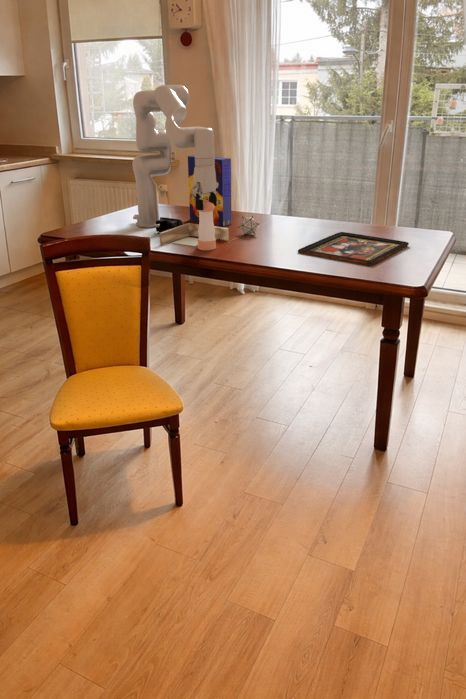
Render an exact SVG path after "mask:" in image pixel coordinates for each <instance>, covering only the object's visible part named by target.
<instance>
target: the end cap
mask: <svg viewBox="0 0 466 699" xmlns="http://www.w3.org/2000/svg"><path fill="white" fill-rule="evenodd" d="M157 224H160V226H159V227H155V231H156V234H157V235H159V236H160V233H161V232H164V231H166V230H169V229H172V228H175V227H178V226H181V225H184V223H183V222H182V220H181V219H179V218H171V217H163V216H161V217H160V216H159V220H157V221H156V225H157Z"/></svg>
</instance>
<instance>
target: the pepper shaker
mask: <svg viewBox="0 0 466 699" xmlns="http://www.w3.org/2000/svg"><path fill="white" fill-rule="evenodd" d="M214 208H215V206H214V204H213V203H211V202H208V201H207V200H204V202H203V210H198V211H199V222H198V223H199V229H198V236H199V237H198V246H197V249H198V250H199V251H200V250H201V251H213V250H215V249H216V248H217V245H216V244H217V242H216V241H217V239H215V229H214V226H215V225H214V224H213V210H214Z"/></svg>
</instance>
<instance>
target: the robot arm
mask: <svg viewBox="0 0 466 699" xmlns="http://www.w3.org/2000/svg"><path fill="white" fill-rule="evenodd" d="M189 103H190V93H189V90H188V88H186V87H185V85H183V84H163V85H158V87H156V88H155V89H150V90H149V89H148V90H146V89H145V90H140V91H137V92H136V93H135V94H134V96H133V99H132V107H133V111H134V115H135V143H136V148H137V150H138V151H139V152H140V153H141V152H142V153H148V154H140V155H137V156H135V157H134V158H133V159H132V165H131V166H132V170H133V174H134V177H135V179H134V180H135V188H136V198H137V200H136V201H137V212H138V214H136V213H135V214H134V215H133V217H132V219H133V220H136V222H135V226H136V227H137V228H143V229H144V228H145V229H147V228H148V229H149V228H150V229H152V228H156V227H159V226H160V224H157V225H156V221H157V220H160V211H159V210H160V209H159V208H160V207H159V193H158V192H159V191H158V185H157V183H156V181H155V180H154V178H153V177H155V176H156V177H157V176H164V175H167V174H169V173H170V171H171V165H172V146H174V147H176V148H178V149H187V148H190V149H191V148H193V150H194V151H193V152H194V155H195V168H194V180H193V189H192V192H193V196H194V199H195V201H196V210H203V200H202V198H203V195H204V194H207V193H209V194H210V195H209V202H211V203H213V204H214V206H217V197H216V196H217V191H218V185H219V183H218V182H216V173H215V158H214V157H215V136H214V135H215V133H214V130H213V128H211V127H203V126H183V127H180V126H178V125H179V124H181V123H182V122H183V121H184V120H185V119H186V117H187V114H188V113H187V106H188V105H189ZM154 113H163V115H164V116H165V123H164V124H165V125H164V128H157V127H156V126H157V120H156V117H155V115H154ZM152 152H153V153H152ZM154 152H155V153H154ZM156 152H157V153H156ZM199 194H200V195H199Z"/></svg>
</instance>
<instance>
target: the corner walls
mask: <svg viewBox="0 0 466 699" xmlns="http://www.w3.org/2000/svg"><path fill="white" fill-rule="evenodd" d="M198 229H199V224H198V223H191V222H190V223H189V222H188V223H183V225H181V226H178V227H175V228H172V229H169V230H166V231H164V232H161V233H160V235H159V245H160V246H166V245H168V244H171V243H173V242H176V241H179V240H181V239H184V238H186V237H191V236H192V237H197V238H199V236H198ZM214 229H215V239H216V240H219V239H220V241H225V242H226V241H229V240H230V239H229V238H230V236H229V235H230V234H229V229H230V228H229V227H224V226H217V225H214Z"/></svg>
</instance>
